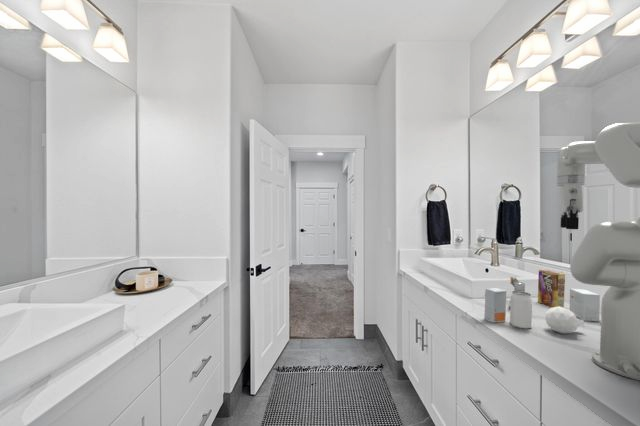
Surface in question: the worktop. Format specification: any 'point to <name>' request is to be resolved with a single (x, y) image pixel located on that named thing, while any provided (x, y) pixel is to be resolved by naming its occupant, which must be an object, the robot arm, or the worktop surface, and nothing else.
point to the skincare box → (495, 305)
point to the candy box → (551, 288)
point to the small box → (585, 304)
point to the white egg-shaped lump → (562, 320)
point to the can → (521, 309)
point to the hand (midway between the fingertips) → (569, 228)
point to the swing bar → (517, 284)
